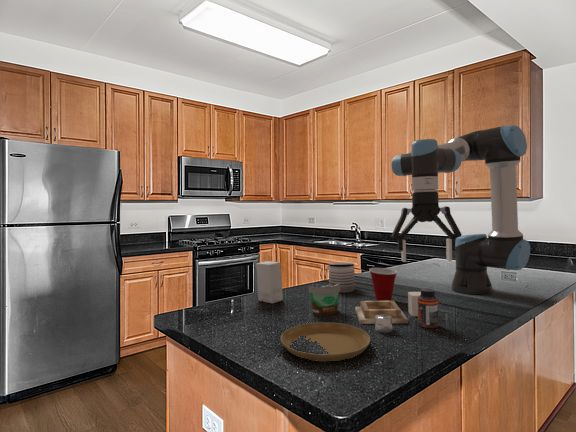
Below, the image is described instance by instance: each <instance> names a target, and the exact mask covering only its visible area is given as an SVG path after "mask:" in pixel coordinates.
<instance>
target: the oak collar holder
mask: <svg viewBox="0 0 576 432" xmlns="http://www.w3.org/2000/svg"><path fill="white" fill-rule="evenodd" d="M354 309H355V310H354V311H355V313H356V315H357V319H358V321H359V324H360V325H370V324H372V325H373V324H374V325H375V316H376V315H380V314H385V315H390V316H392V324H409V318H407V316H406V314H404V312H403V311H402V309H401V308H400V307H399V306H398V304H397V303H396V301H395V300H394V299H393V300H392V299H391V301H377V300H360V306H355V307H354Z"/></svg>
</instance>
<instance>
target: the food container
mask: <svg viewBox="0 0 576 432" xmlns="http://www.w3.org/2000/svg"><path fill="white" fill-rule="evenodd" d="M340 290H341V288H340V285H339V283H338V282H336V284H333V285H329V284H323V285H320V286H311V285H309V288H308V293H310V294H309V295H310V300H311V309H312V314H314V315H316V316H325V317H326V316H332V315H333V316H334V315H335V314H338V310H339V293H340V292H339V291H340Z"/></svg>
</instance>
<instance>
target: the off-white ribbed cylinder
mask: <svg viewBox="0 0 576 432" xmlns="http://www.w3.org/2000/svg"><path fill="white" fill-rule="evenodd" d="M355 280H356V278H355V262H330V263H328V285H333V284H336V282H338V283H339V285H340V288H341V290H340V291H339V293H350V292H353V291H355V289H356V281H355Z"/></svg>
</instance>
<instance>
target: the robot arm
mask: <svg viewBox="0 0 576 432" xmlns="http://www.w3.org/2000/svg"><path fill="white" fill-rule="evenodd" d="M527 143H528V142H527V138H526V135H525V134H524V131H523V130H522V128H521V127H520V126H518V125H516V124H515V125H514V124H512V125H511V124H510V125H501V126H498V127H491V128H487V129H481V130H475V131H471V132H469V133H465V134H464V135H460V136H457V137H455V138H451V140H449V141H448V142H445V143H442V144H438V141H437V140H436V139H435V138H425V139H417V140H414V141H412V143H411V152H408V153H401V154H397V155H395V156H393V158H392V160H391V163H390V164H391V165H390V166H391V170H392V173H393V175H395V176H398V177H407V176H411V190H412V194H411V202H412V203H411V208H407V207H402V208H401V212H400V213H401V215H400V216H399V218H398V221H397V223H396V225H395V227H394V228H393V231H392V233H391V235H390V236H391V238H393V239H396V240H397V250H398V251H399V252H400V253H401V254H400V255H401V261H402V262H403V263H407V251H406V250H407V248H406V246H407V245H406V241H407V240H405V237H406V236H407V235H408V234H409V233H410V231H411V230H412V229H413V228H414V226H415V225H416V224H418V222H420V223H426V222H428V223H432V222H433V223H435V224H436V225H437V226H438V227H439V228H440V229H441V230H442V231H443V233H444V234H445V235H446V236H447V237H448V238H446V239H445V242H446V243H445V244H446V245H445V249H446V250H445V254H446V255H445V257H446V258H445V259H446V261H448V262H452V261H453V250H455V252H454V253H455V273H454V275H453V278H452V282H451V290H452V291H454V292H457V293H460V294H466V295H467V294H468V295H486V294H487V295H488V294H490V293H492V292H493V285H492V282H491V279H490V277H489V275H488V268H494V269H501V270H507V271H510V270H511V271H521V270H522V269H524V267H526V265H527V264H528V261H529V259H530V255H531V244H530V242H529V240H528V239H527V240H526V239H524V233H523V232H521V231H520V230H519V222H518V221H519V220H518V219H519V217H518V213H519V212H518V190H517V185H518V184H517V166H518V164H519V163H521V157H524V155H526V153H527V149H528V144H527ZM467 161H468V162H469V161H471V162H472V161H473V162H474V161H484V165H485V166H486V167H488V168H489V178H490V179H489V180H490V183H489V185H490V203H491V205H490V207H491V227H492V229H491V231H490V232H489V233H488V234H486V233H477V234H466V235H463V234H462V232H461V231H460V228H459V226H458V225H457V224H456V221H455V219H454V218H453V216H452V213H451V208H450V206H446V205H445V206H443V207H440V205H439V202H440V201H439V192H438V191H437V190H439V174H441V173H444V174H447V173H449V174H450V173H454V172H456V171H457V170H458V169H459V168H460V167H461V165H462V162H467ZM440 213H442V214H443V215H444V218H445V220H446V222H447V223H448V225H449V227H450V229H449V227H448V226H447V225H446V224H445V223H444V222H443V220H441V218H440V217H439V216H438V215H439V214H440ZM410 214H412V215H413V217H412V218H411V219H410V221H409V222H408V223H407V225H406V226H405V227H404V229H402V228H403V225H404V223H405V221H406V219H407V217H408V216H409V215H410ZM401 229H402V230H401ZM400 231H401V232H400Z"/></svg>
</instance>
